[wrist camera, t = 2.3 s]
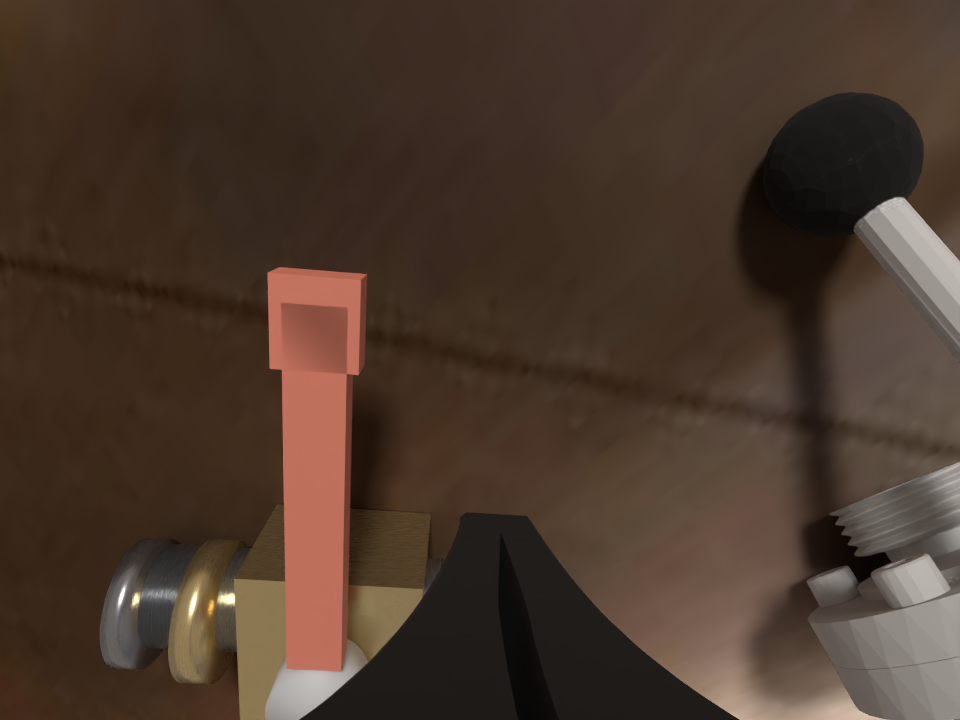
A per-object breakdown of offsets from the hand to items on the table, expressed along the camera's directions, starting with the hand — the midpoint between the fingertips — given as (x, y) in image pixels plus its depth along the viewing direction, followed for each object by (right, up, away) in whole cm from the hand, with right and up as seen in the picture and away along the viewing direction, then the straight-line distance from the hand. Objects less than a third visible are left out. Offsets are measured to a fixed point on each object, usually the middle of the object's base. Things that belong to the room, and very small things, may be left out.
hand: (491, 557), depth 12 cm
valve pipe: (-5, -5, +12) cm, 14 cm away
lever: (-5, -1, +6) cm, 8 cm away
